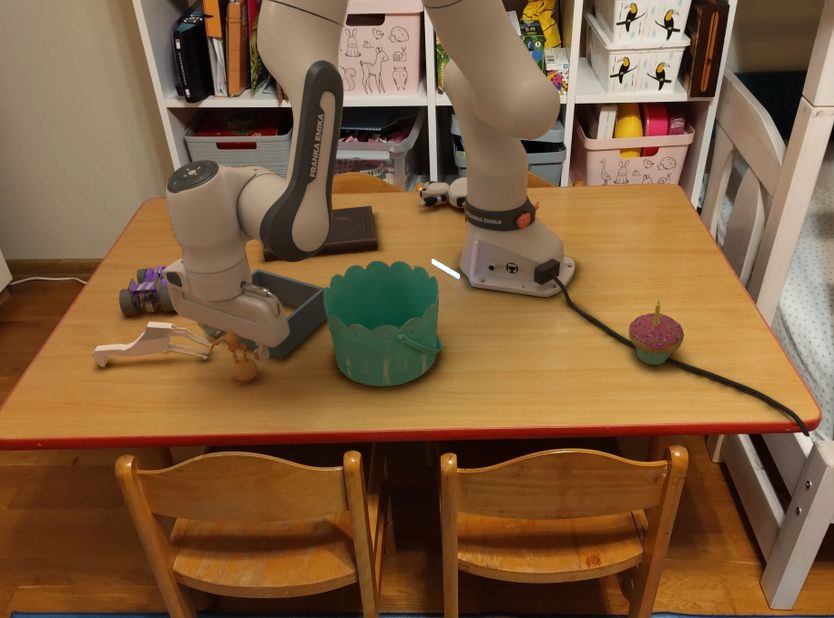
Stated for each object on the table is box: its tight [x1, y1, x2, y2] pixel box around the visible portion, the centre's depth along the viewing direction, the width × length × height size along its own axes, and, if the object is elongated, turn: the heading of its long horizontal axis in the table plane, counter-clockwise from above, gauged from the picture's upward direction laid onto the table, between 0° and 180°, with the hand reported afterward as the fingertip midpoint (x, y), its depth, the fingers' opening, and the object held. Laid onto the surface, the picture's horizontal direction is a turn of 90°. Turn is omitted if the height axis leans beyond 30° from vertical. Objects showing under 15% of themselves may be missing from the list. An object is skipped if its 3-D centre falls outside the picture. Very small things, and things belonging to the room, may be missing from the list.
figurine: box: [209, 331, 258, 382], centre depth 112 cm, size 8×6×12 cm
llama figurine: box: [91, 321, 211, 368], centre depth 119 cm, size 2×11×18 cm
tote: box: [216, 268, 327, 360], centre depth 126 cm, size 15×14×6 cm
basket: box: [323, 260, 443, 387], centre depth 116 cm, size 19×18×13 cm
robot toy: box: [416, 176, 467, 210], centre depth 162 cm, size 12×4×15 cm
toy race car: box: [118, 265, 176, 316], centre depth 135 cm, size 10×15×6 cm, turn 6°
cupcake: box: [628, 300, 685, 366], centre depth 113 cm, size 9×8×12 cm
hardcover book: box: [262, 205, 379, 262], centre depth 152 cm, size 16×23×2 cm
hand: (239, 350), depth 112 cm, fingers open, 8 cm apart
